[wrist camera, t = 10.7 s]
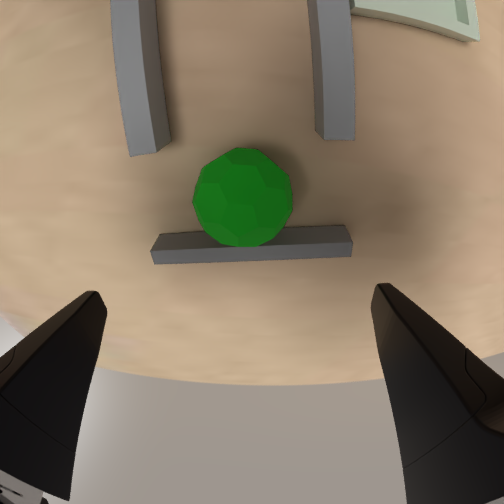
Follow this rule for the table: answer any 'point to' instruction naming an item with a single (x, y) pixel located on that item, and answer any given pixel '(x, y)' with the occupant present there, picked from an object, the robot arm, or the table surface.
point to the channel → (158, 135)
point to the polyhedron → (242, 198)
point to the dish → (425, 15)
